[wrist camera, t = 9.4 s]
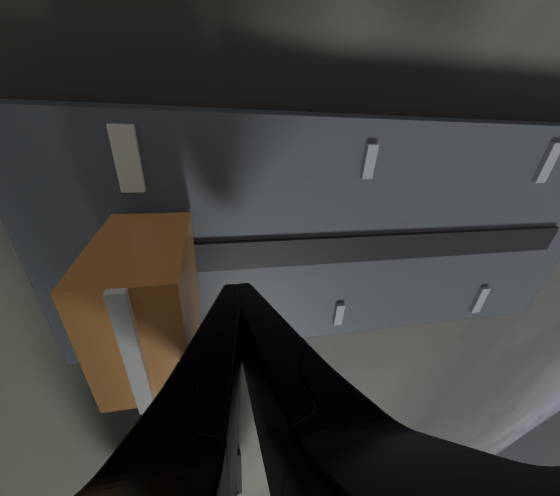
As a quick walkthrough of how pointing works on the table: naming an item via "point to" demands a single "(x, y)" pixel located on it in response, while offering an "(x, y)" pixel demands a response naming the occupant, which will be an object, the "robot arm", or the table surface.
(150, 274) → the fader knob
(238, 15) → the table surface
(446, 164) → the fader panel
